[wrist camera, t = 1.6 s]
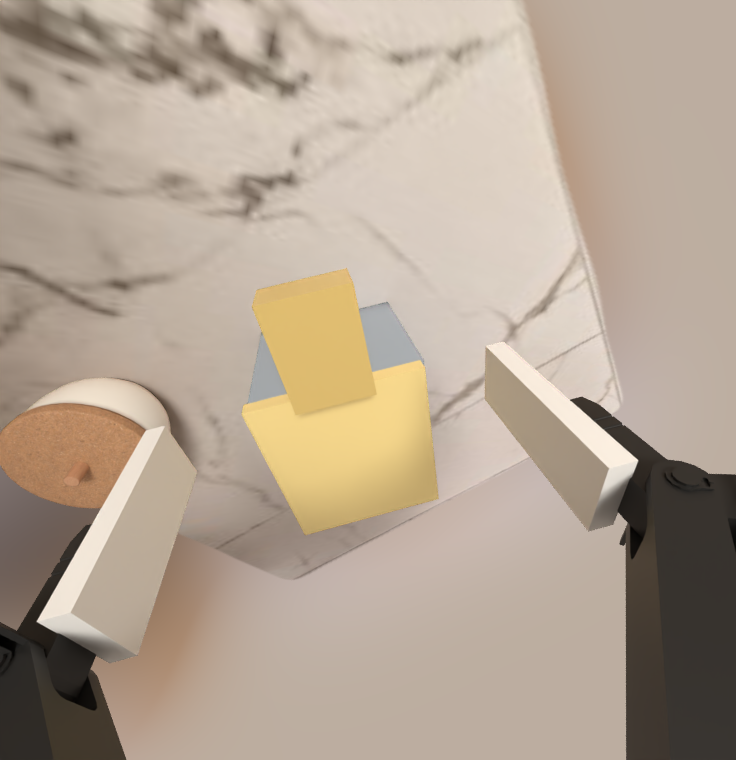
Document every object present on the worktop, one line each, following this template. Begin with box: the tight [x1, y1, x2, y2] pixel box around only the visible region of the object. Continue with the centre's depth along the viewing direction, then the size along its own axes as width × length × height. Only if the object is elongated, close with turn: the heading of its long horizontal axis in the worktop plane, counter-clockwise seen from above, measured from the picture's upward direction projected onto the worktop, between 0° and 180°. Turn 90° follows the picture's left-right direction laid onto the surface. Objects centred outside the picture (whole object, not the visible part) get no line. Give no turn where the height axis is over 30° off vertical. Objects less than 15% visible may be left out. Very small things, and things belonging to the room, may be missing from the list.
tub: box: [248, 302, 424, 404], centre depth 31 cm, size 14×12×11 cm
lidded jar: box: [0, 378, 171, 508], centre depth 29 cm, size 11×11×9 cm
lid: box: [242, 268, 438, 535], centre depth 23 cm, size 21×12×2 cm, turn 11°
